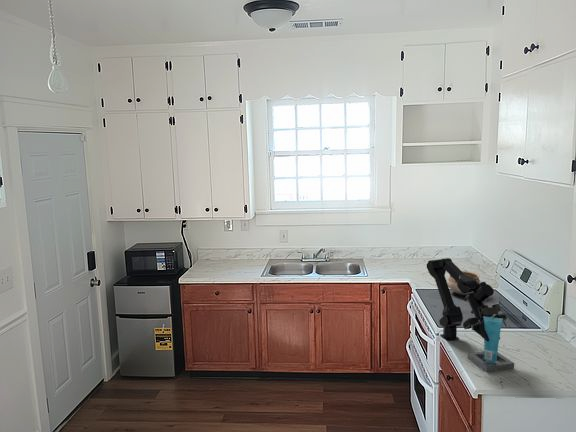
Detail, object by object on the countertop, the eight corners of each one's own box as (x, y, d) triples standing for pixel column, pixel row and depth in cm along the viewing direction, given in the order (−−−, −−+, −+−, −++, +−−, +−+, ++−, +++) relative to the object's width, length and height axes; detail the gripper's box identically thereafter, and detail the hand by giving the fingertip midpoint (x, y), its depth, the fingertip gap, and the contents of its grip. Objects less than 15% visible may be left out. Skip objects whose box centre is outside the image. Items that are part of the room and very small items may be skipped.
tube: (498, 358, 206) (501, 316, 202) (500, 364, 201) (503, 320, 198) (480, 356, 208) (482, 314, 204) (481, 362, 203) (484, 318, 200)
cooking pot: (484, 301, 280) (485, 281, 278) (450, 300, 283) (451, 280, 281) (474, 288, 304) (475, 269, 302) (443, 287, 307) (444, 268, 305)
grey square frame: (467, 358, 209) (467, 353, 209) (493, 355, 212) (494, 349, 212) (486, 372, 197) (486, 366, 196) (513, 368, 200) (514, 363, 199)
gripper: (469, 300, 201) (485, 336, 193) (505, 295, 206) (523, 330, 198) (456, 311, 210) (471, 346, 201) (491, 306, 215) (507, 340, 207)
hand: (493, 340), depth 202 cm, fingers closed on tube, 5 cm apart
